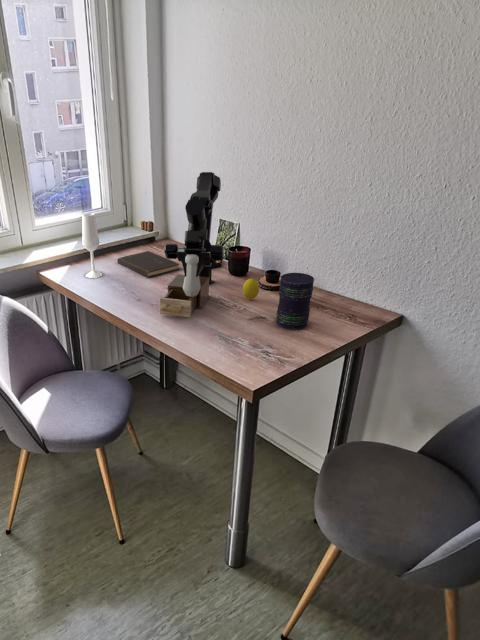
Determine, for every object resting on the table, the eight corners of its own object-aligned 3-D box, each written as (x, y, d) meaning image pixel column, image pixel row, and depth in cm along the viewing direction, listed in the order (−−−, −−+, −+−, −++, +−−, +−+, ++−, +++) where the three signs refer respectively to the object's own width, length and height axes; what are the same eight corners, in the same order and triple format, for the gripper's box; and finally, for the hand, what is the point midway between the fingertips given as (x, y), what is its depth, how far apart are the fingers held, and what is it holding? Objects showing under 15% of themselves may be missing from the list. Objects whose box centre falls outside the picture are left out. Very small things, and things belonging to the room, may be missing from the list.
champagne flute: (105, 273, 205) (100, 213, 192) (95, 278, 200) (89, 217, 187) (92, 271, 208) (86, 211, 195) (82, 276, 203) (75, 215, 190)
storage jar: (302, 332, 153) (308, 286, 145) (271, 326, 157) (275, 280, 149) (311, 320, 160) (318, 275, 152) (281, 314, 164) (286, 270, 156)
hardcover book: (148, 255, 222) (148, 250, 221) (179, 269, 206) (179, 263, 205) (117, 263, 215) (117, 258, 214) (147, 277, 199) (146, 272, 197)
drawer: (186, 322, 160) (186, 307, 157) (155, 318, 163) (155, 303, 160) (198, 305, 171) (199, 290, 169) (170, 301, 175) (169, 287, 172)
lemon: (259, 298, 177) (261, 276, 173) (255, 304, 173) (257, 281, 168) (244, 296, 179) (246, 274, 175) (240, 301, 175) (241, 280, 170)
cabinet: (200, 308, 171) (200, 288, 167) (167, 304, 175) (167, 285, 171) (208, 296, 180) (209, 277, 177) (177, 292, 184) (177, 274, 180)
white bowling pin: (183, 290, 168) (184, 252, 161) (201, 291, 167) (202, 252, 160) (181, 297, 163) (181, 258, 156) (199, 297, 162) (200, 258, 155)
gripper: (164, 218, 157) (158, 264, 154) (224, 219, 154) (219, 266, 150) (169, 236, 168) (163, 279, 165) (225, 237, 164) (220, 281, 161)
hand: (191, 276), depth 160 cm, fingers closed on white bowling pin, 3 cm apart
